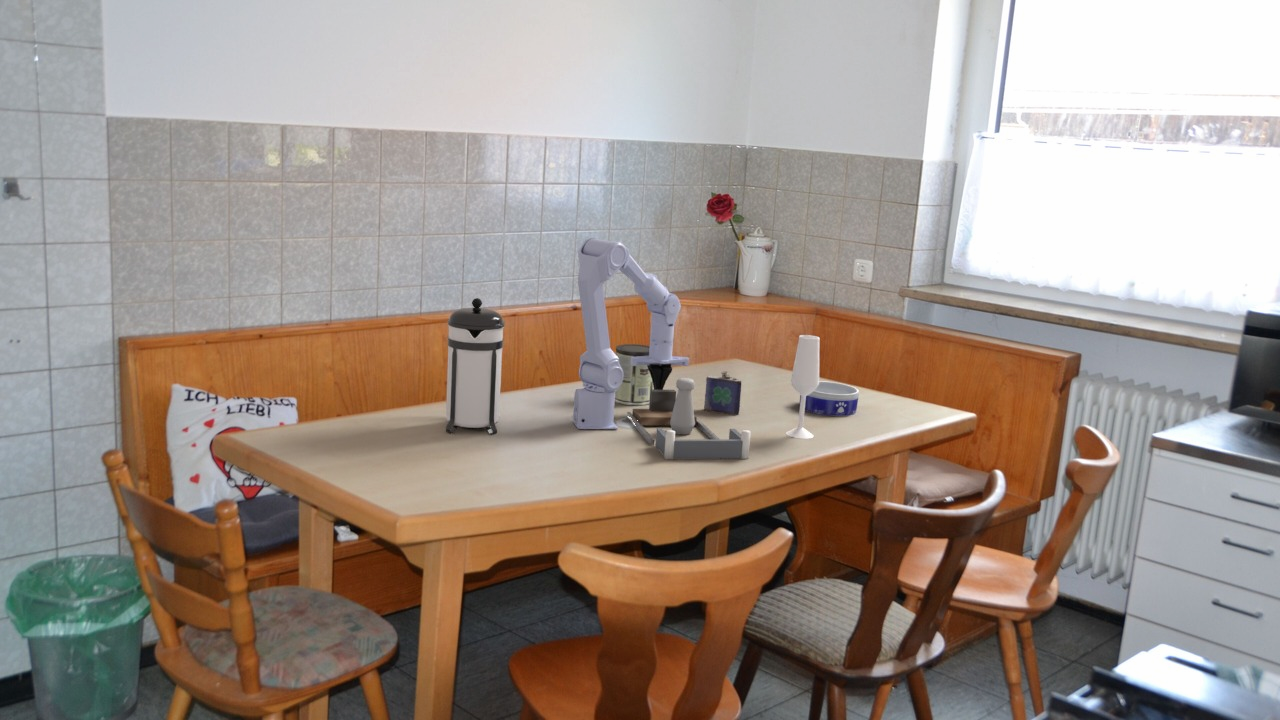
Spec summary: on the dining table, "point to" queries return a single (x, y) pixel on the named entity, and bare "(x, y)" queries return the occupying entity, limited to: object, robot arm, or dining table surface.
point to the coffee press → (474, 368)
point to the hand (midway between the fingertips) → (657, 393)
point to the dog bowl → (832, 399)
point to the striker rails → (651, 440)
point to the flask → (723, 394)
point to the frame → (703, 446)
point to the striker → (658, 408)
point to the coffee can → (633, 376)
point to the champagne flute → (805, 377)
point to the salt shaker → (683, 408)
